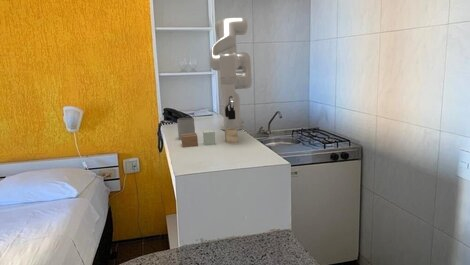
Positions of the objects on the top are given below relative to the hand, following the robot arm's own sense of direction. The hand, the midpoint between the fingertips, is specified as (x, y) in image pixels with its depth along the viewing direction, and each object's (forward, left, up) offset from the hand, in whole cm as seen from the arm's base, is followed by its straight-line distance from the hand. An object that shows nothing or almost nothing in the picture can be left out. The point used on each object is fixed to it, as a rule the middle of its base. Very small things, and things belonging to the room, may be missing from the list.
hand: (230, 118), depth 174 cm
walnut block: (+13, -14, -12) cm, 23 cm away
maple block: (-1, 0, -12) cm, 12 cm away
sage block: (+7, -7, -12) cm, 16 cm away
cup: (+2, -26, -12) cm, 29 cm away
